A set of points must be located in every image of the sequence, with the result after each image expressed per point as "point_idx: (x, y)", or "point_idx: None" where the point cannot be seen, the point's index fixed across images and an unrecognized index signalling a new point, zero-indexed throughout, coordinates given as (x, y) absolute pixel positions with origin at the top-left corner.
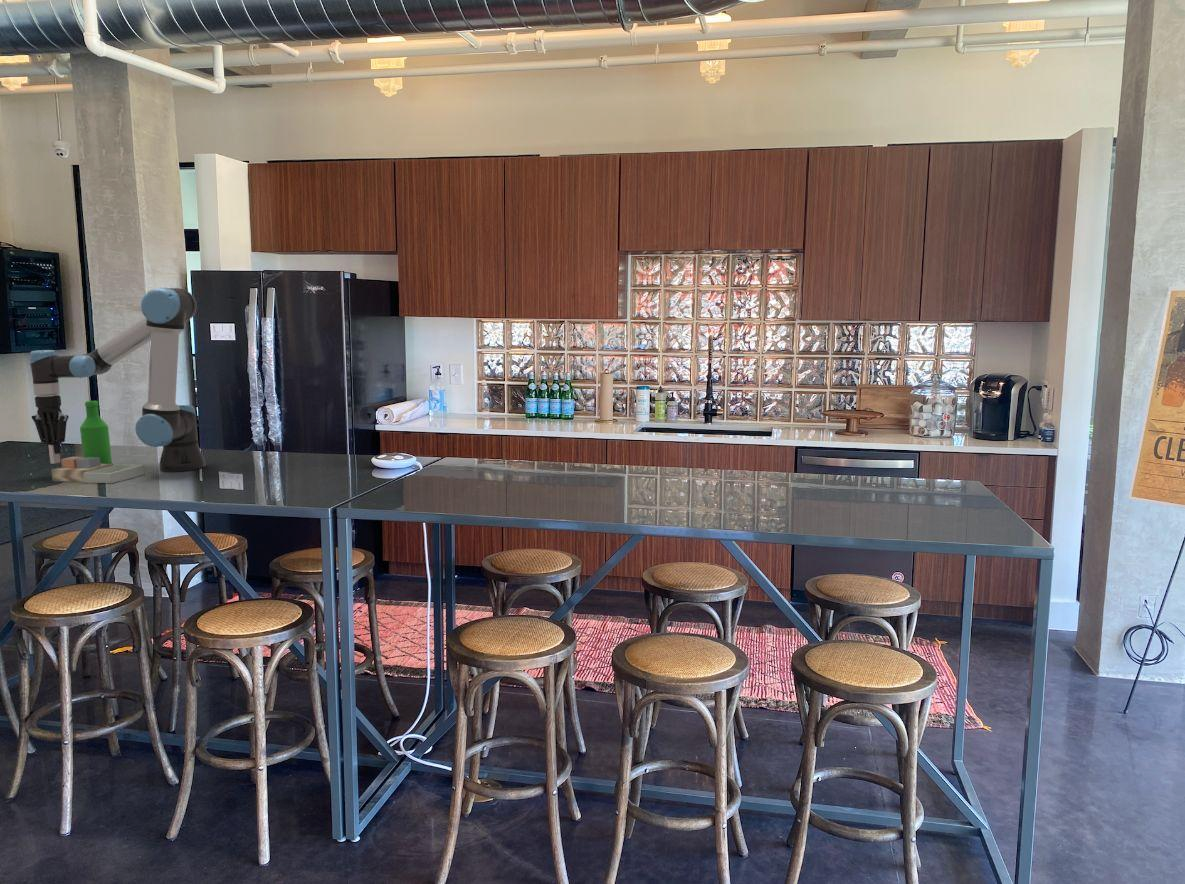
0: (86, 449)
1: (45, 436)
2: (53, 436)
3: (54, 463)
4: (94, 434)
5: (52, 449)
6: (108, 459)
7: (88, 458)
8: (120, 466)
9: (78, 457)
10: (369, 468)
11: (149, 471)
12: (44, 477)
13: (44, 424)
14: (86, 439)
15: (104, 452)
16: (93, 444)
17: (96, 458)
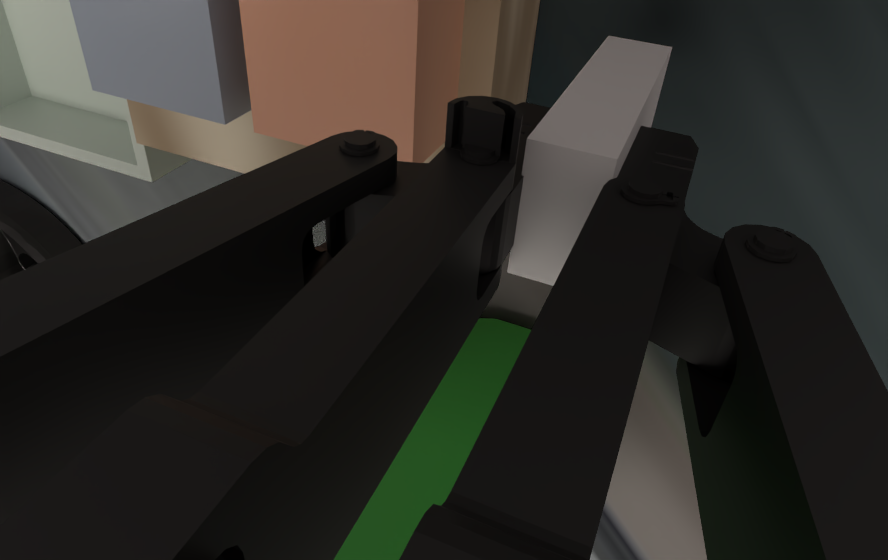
0: (454, 451)
1: (640, 287)
2: (395, 216)
3: (605, 39)
4: None
5: (554, 109)
6: None
7: (121, 3)
8: (133, 155)
9: (286, 91)
10: None
11: (107, 216)
12: (832, 51)
13: (460, 526)
14: (392, 539)
15: None
16: None
17: (83, 36)
